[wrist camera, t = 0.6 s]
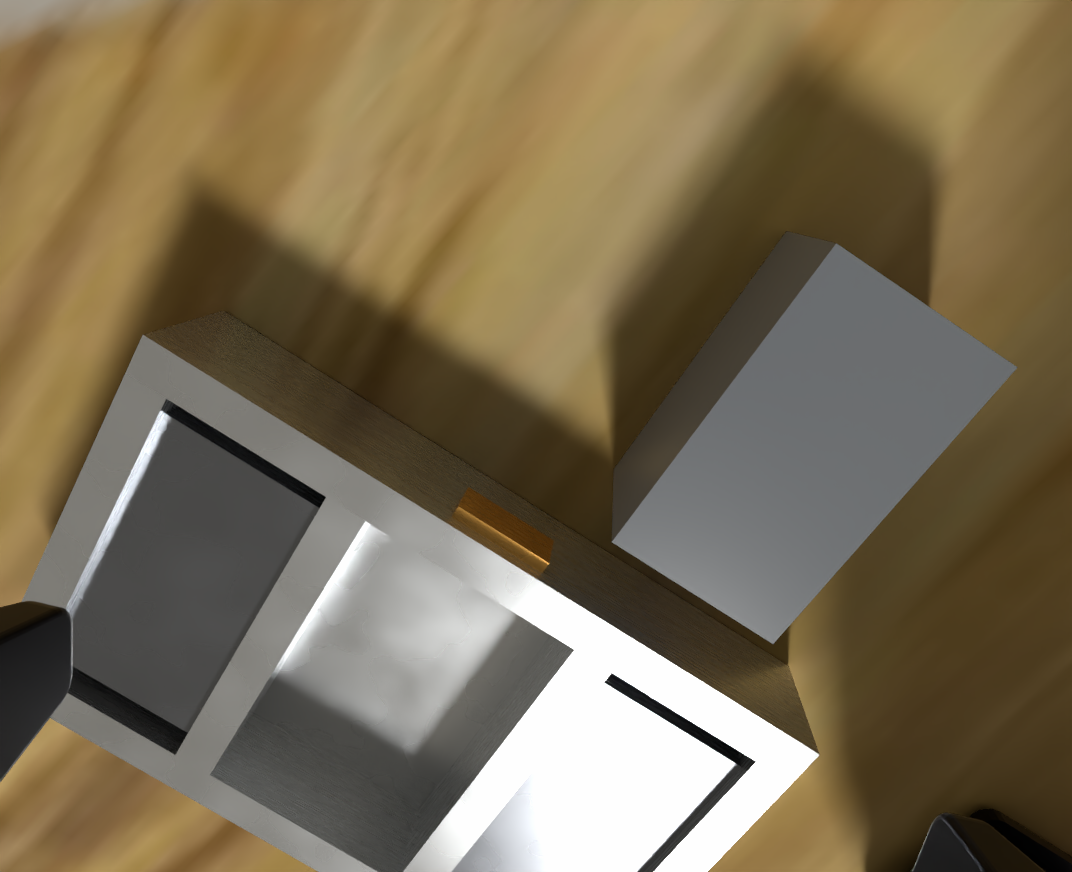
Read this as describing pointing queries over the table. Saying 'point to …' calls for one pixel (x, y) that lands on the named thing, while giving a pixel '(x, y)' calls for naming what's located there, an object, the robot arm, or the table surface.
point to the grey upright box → (796, 433)
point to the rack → (389, 639)
